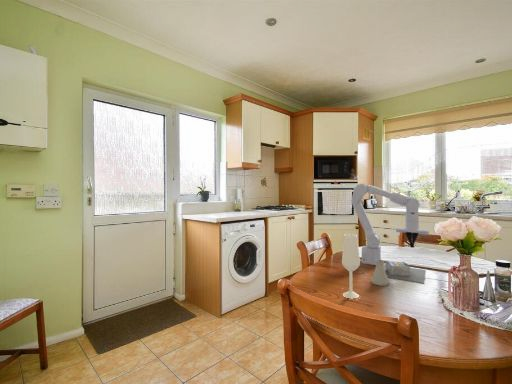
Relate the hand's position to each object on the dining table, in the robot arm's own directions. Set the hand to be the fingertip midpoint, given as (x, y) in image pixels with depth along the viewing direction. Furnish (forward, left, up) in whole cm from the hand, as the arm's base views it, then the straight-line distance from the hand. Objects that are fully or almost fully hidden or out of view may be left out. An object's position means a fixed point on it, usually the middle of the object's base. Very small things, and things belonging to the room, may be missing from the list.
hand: (412, 247), depth 135 cm
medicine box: (-1, -13, -8) cm, 15 cm away
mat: (-3, -13, -10) cm, 17 cm away
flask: (-10, -32, -11) cm, 35 cm away
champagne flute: (-17, -52, -11) cm, 56 cm away
